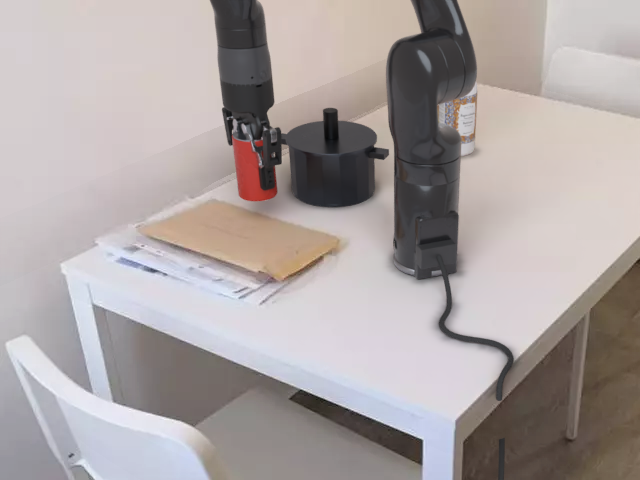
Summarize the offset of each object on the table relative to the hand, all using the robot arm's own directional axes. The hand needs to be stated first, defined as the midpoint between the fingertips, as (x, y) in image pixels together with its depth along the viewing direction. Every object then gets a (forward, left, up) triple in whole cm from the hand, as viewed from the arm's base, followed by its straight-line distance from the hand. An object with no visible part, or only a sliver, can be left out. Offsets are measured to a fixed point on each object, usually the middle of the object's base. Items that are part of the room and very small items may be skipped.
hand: (257, 181), depth 137 cm
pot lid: (+7, -14, +3) cm, 16 cm away
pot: (+7, -14, -6) cm, 17 cm away
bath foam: (+16, -41, -7) cm, 45 cm away
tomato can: (0, 0, -2) cm, 2 cm away
